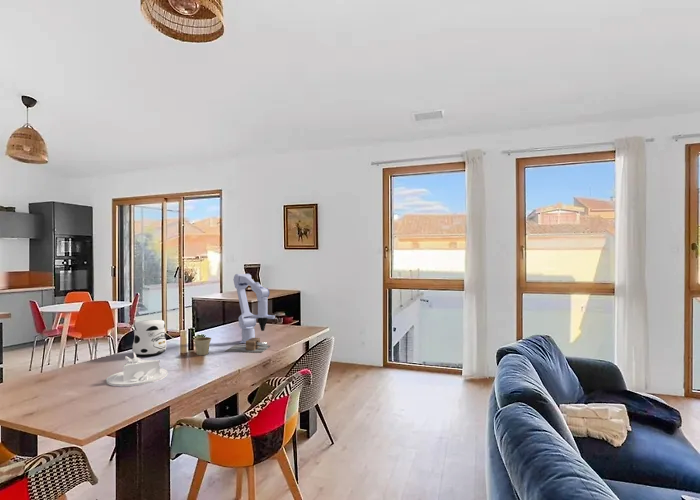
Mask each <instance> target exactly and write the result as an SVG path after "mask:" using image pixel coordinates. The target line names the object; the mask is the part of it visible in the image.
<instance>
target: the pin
mask: <svg viewBox="0 0 700 500" xmlns="http://www.w3.org/2000/svg"><path fill="white" fill-rule="evenodd" d="M256 346H268V342H261V341H260V342H256Z"/></svg>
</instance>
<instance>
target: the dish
mask: <svg viewBox="0 0 700 500" xmlns="http://www.w3.org/2000/svg"><path fill="white" fill-rule="evenodd" d="M132 353H133V358H131V357H128V356H127V355H125V357H124V359H125V360H126V361H127V362H125V364H124V365H123V370H122V371H120V372H116V373H114V374H111V375H109V376H108V377H107V378H106V384H107V385H110V386H113V387H121V388H123V387H136V386H137V387H138V386H143V385H148V384H153V383H155V382H159V381H161V380H163V379H165V378H166V377H167V376H168V374H169V372H168V370H167V369H164V368H162V367H160V364H161V361H160V360H158V359H157V360H156V359H155V360H154V359H151V360H150V359H141V357H137V355H136V354H135V353H134V352H133V351H132Z"/></svg>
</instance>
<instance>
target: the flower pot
mask: <svg viewBox="0 0 700 500" xmlns="http://www.w3.org/2000/svg"><path fill="white" fill-rule="evenodd" d="M211 340H212V337H207V336H206V337H205V336H202V337H195V338H193V341H194V344H195V351H196V355H197V356H206V355H208V354H209V350H210V344H211Z"/></svg>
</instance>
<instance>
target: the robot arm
mask: <svg viewBox="0 0 700 500" xmlns="http://www.w3.org/2000/svg"><path fill="white" fill-rule="evenodd" d="M233 284H234V288H235V289H236V293H237V297H238V301H239V302H238V303H239V308H240V312H241V314H240V315H239V316H238V326H239V328H240V329H241V341H239V344H246V341H247V340H249V339H251V338H256V331H255V330H256V329H255V327H256V325H257V323H258V325H259V327H260V330H261V332H264V331H265V329H266V325H267V322H268V320H275V318H276V315H272V314H268V307H269V306H268V302H269V301H268V298H269V297H270V289H269V288H268V287H264V286H263V285H262V284H260V282H259V281H255V280H254V279H252V275H251V274H250V273H236V274H234V276H233ZM248 286H250V289H251V291H253V292H254V293H255V295H256V296H255V297H256V299H257V314H253V313H252V312H251V310H250V307H249V302H248V301H249V300H248V298H247V297H248V296H247V292H246V288H248Z"/></svg>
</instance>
